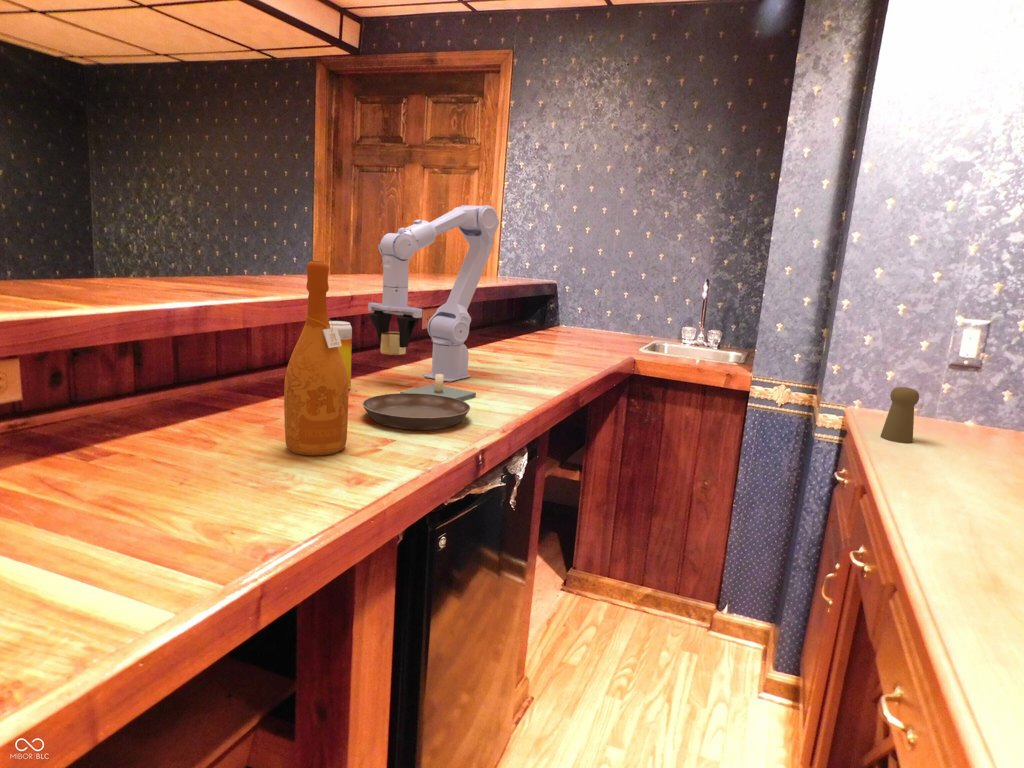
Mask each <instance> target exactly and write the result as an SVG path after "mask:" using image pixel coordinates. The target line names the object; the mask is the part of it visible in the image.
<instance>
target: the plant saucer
mask: <svg viewBox="0 0 1024 768" xmlns="http://www.w3.org/2000/svg"><path fill="white" fill-rule="evenodd" d="M362 406H363V408H364V410H365V411H366V414H368V415H369V417H371V418H372V419H373V420H374V421H375V422H377V423H378V424H381V425H383V426H386V427H389V426H390V427H391V428H395V429H399V428H400V429H401V430H408V429H410V430H411V431H430V430H431V429H433V430H439V429H440V430H441V428H442V429H446V428H450V427H452V426H454V425H457V424H458V423H459V422H460V421H462V420H463V419H464V418H465V417H466V416H467V415H468V413H469V412H470V410H471V406H470V404H468V403H467V402H465V400H464V401H461V400H458V399H455V398H451V397H446V396H439V395H431V394H418V393H397V392H396V393H388V394H387V393H386V394H380V395H373V396H371V397H368V398H366V399H364V400H363V402H362ZM400 429H399V430H400Z"/></svg>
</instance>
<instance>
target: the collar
mask: <svg viewBox="0 0 1024 768" xmlns="http://www.w3.org/2000/svg"><path fill="white" fill-rule="evenodd" d="M406 348H407V347H404V348H401V347H400V333H399V331H389V332H381V344H380V353H381V354H383V355H391V356H392V355H394V356H400V355H406V354H407V352H406V351H407V349H406Z"/></svg>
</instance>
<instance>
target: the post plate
mask: <svg viewBox="0 0 1024 768" xmlns="http://www.w3.org/2000/svg"><path fill="white" fill-rule="evenodd" d="M443 376H444V375H443V374H435V379H434V383H433V384H428V385H424V386H423V385H422V386H420V387H416V388H411V389H407V390H402V391H400V393H418V394H431V395H439V396H446V397H451V398H455V399H458V400H461V401H464V402H465V401H467V400H470V399H474V398H476V396H477V393H476V392H473V391H469V390H463V389H459V388H454V387H449V386H445V385H444V381H443Z"/></svg>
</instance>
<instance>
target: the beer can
mask: <svg viewBox="0 0 1024 768" xmlns="http://www.w3.org/2000/svg"><path fill="white" fill-rule="evenodd" d="M331 321H332V323H333V328H337V329H338V333H339V337H340V340H341V344H342V346H339V349H340V352H341V354H342V357H343V360H344V363H345V366H346V370H347V375H348V390H349V389H350V388H351V387H352V349H353V347H352V345H353V343H352V342H353V327H352V325H351V322H348V321H343V320H331ZM331 321H330V320H329V324H330V328H332V323H331Z"/></svg>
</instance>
